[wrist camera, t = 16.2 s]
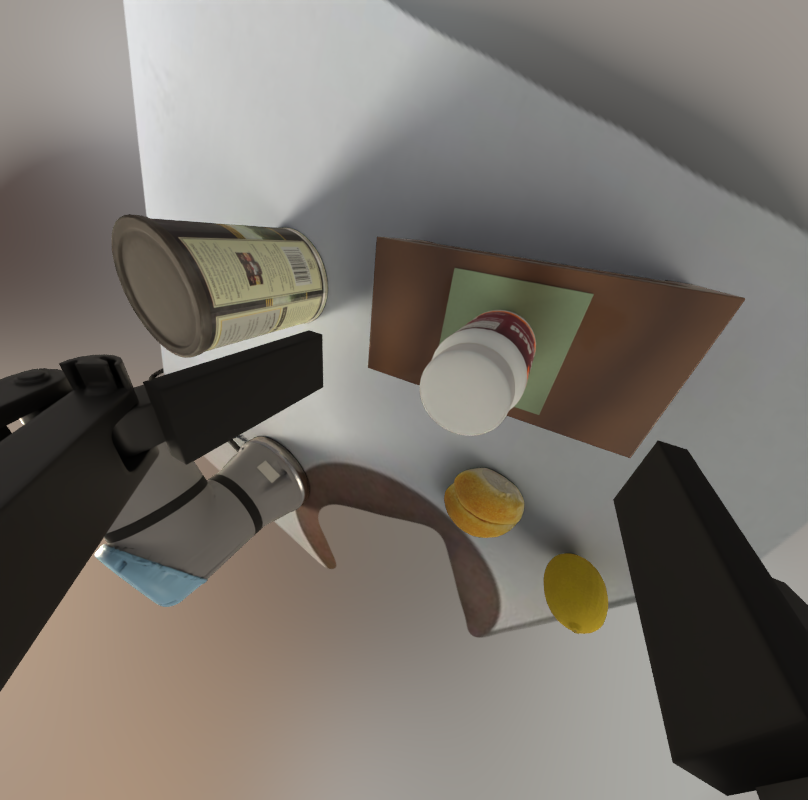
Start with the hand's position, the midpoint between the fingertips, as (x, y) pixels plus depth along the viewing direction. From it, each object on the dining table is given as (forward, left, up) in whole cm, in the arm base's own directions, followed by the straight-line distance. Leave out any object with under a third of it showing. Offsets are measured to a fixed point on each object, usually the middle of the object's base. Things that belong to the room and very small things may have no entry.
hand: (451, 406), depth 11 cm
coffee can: (-25, -1, -17) cm, 30 cm away
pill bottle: (0, 0, -10) cm, 10 cm away
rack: (0, 0, -17) cm, 17 cm away
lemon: (+14, -23, -17) cm, 32 cm away
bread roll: (+3, -20, -17) cm, 26 cm away
